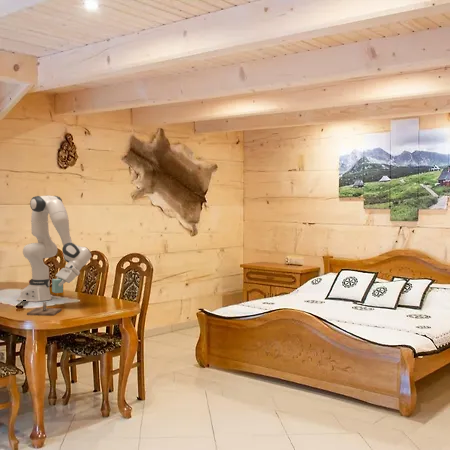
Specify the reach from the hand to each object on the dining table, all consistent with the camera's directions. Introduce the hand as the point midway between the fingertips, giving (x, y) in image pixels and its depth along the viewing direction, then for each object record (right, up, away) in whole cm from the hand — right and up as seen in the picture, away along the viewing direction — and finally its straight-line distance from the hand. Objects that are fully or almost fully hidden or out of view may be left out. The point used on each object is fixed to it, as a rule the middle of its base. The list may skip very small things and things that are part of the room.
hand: (56, 284), depth 382 cm
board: (-3, -15, -16) cm, 22 cm away
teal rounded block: (0, -5, +1) cm, 5 cm away
